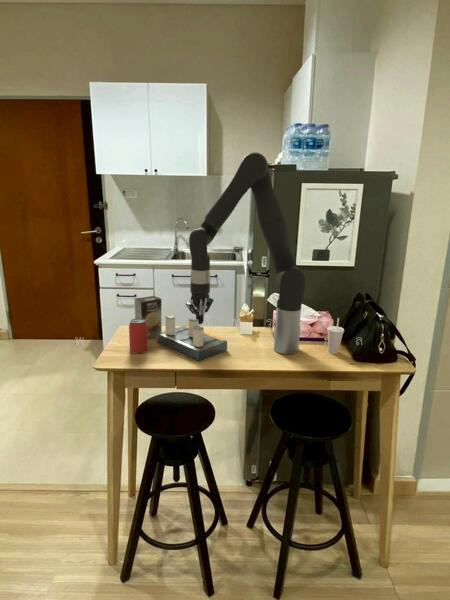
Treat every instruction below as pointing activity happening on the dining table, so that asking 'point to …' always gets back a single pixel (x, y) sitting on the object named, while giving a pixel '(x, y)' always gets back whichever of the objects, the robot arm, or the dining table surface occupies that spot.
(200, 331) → the handle
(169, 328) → the handle
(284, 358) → the dining table surface
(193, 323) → the handle
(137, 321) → the beer can
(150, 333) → the coffee box
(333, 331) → the smoothie
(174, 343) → the panel
